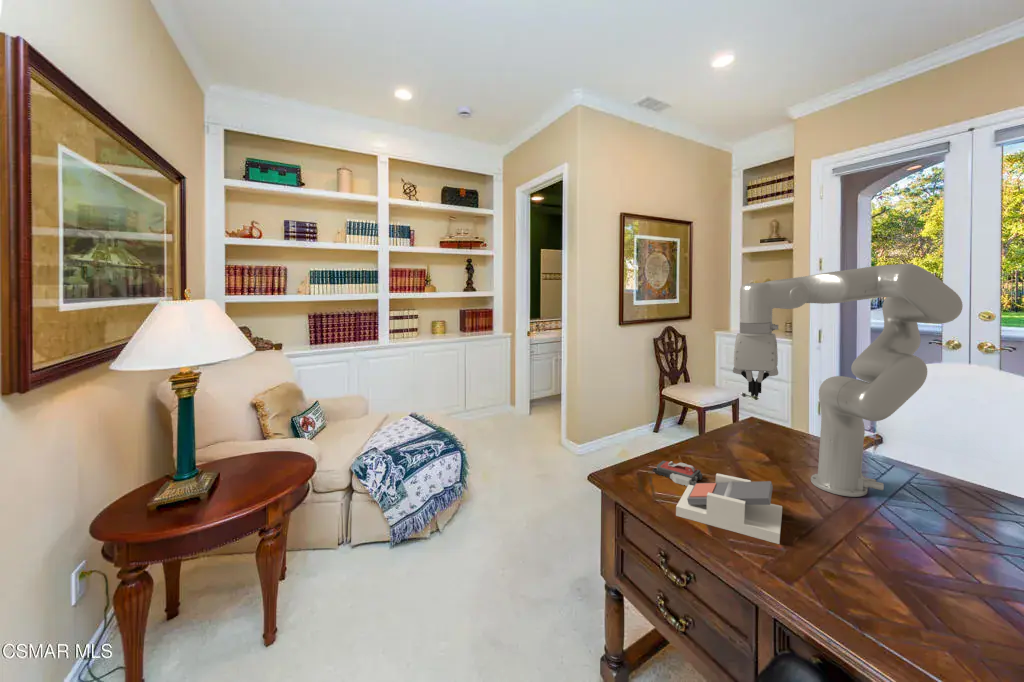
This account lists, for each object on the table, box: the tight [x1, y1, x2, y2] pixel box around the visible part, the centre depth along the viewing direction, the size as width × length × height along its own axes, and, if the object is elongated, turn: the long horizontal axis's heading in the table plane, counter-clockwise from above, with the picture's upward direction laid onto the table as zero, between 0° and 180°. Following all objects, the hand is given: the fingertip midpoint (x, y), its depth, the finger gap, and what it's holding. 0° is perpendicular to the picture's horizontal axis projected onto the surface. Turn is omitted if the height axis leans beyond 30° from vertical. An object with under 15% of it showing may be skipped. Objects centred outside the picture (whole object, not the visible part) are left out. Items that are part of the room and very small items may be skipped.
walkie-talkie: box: [652, 460, 703, 487], centre depth 123 cm, size 9×4×20 cm
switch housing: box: [675, 473, 783, 545], centre depth 103 cm, size 22×14×8 cm, turn 55°
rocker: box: [687, 480, 774, 505], centre depth 103 cm, size 18×10×2 cm, turn 53°
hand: (754, 395), depth 113 cm, fingers closed
